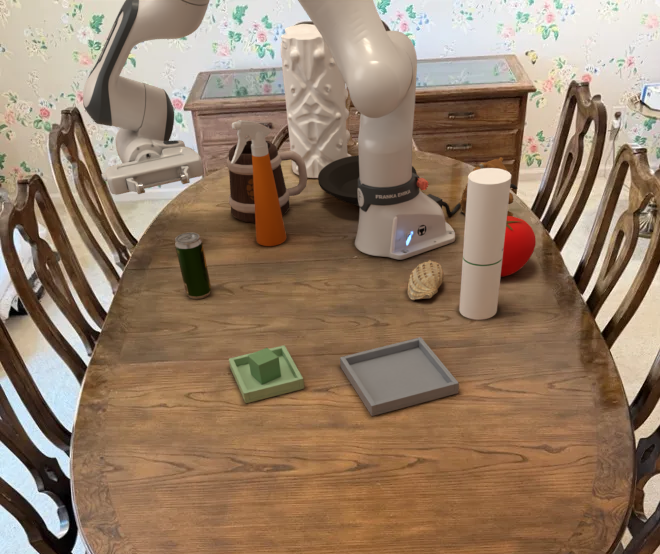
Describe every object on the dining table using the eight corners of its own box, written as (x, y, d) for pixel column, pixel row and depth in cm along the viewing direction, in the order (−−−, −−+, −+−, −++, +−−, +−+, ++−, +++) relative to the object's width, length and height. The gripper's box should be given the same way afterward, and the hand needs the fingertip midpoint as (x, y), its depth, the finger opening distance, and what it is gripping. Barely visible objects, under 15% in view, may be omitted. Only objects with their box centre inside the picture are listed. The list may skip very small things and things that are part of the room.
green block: (270, 366, 129) (267, 347, 127) (281, 376, 127) (278, 356, 124) (250, 374, 128) (247, 355, 125) (261, 384, 126) (258, 365, 123)
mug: (234, 228, 173) (223, 162, 162) (227, 204, 183) (217, 141, 172) (315, 215, 175) (309, 150, 164) (304, 192, 185) (298, 129, 174)
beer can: (193, 302, 149) (180, 246, 140) (182, 292, 152) (169, 237, 144) (216, 294, 151) (205, 238, 142) (205, 284, 154) (193, 229, 145)
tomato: (465, 285, 146) (468, 235, 139) (460, 256, 155) (463, 207, 148) (536, 282, 145) (544, 232, 137) (527, 253, 154) (534, 204, 146)
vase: (284, 180, 192) (269, 39, 169) (296, 157, 203) (283, 22, 180) (347, 179, 189) (340, 36, 166) (356, 156, 200) (350, 19, 177)
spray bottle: (237, 245, 166) (216, 120, 148) (275, 230, 170) (260, 107, 152) (253, 255, 162) (234, 128, 143) (292, 239, 166) (279, 114, 147)
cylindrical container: (499, 302, 140) (514, 169, 123) (493, 321, 136) (507, 185, 118) (463, 298, 142) (472, 166, 125) (455, 317, 138) (464, 182, 120)
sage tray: (285, 354, 133) (284, 344, 131) (304, 388, 125) (303, 378, 123) (230, 368, 131) (228, 358, 129) (245, 403, 123) (243, 393, 122)
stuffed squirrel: (484, 233, 162) (489, 172, 152) (446, 213, 171) (449, 154, 161) (519, 221, 165) (526, 161, 155) (480, 202, 174) (484, 143, 164)
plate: (428, 214, 171) (429, 190, 167) (329, 228, 169) (328, 204, 165) (401, 171, 190) (401, 149, 186) (312, 183, 189) (310, 161, 185)
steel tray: (420, 346, 132) (420, 336, 130) (458, 393, 121) (459, 382, 119) (340, 367, 129) (339, 357, 127) (371, 416, 118) (371, 406, 117)
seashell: (448, 309, 146) (438, 268, 149) (452, 290, 140) (442, 248, 143) (410, 314, 145) (401, 273, 148) (413, 295, 139) (404, 253, 143)
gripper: (95, 157, 151) (108, 179, 141) (189, 138, 156) (207, 158, 146) (104, 188, 155) (117, 211, 146) (194, 168, 160) (213, 189, 151)
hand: (163, 184), depth 146 cm, fingers open, 8 cm apart
